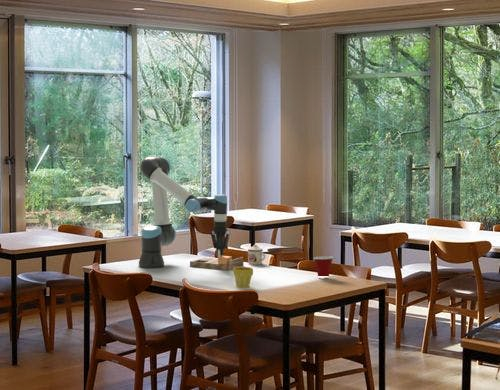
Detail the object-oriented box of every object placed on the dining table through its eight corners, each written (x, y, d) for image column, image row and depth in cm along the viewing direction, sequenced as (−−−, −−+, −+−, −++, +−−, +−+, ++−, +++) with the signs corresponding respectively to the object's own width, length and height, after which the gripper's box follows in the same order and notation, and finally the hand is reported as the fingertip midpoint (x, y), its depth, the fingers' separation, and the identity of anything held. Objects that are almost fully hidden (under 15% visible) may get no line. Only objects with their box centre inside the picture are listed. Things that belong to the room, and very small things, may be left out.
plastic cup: (319, 275, 518) (320, 254, 517) (336, 277, 512) (336, 256, 511) (309, 278, 509) (309, 256, 508) (326, 280, 503) (326, 258, 502)
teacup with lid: (244, 263, 558) (244, 244, 557) (253, 262, 565) (254, 243, 564) (260, 265, 550) (260, 246, 549) (269, 264, 557) (269, 245, 556)
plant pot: (255, 288, 478) (255, 269, 477) (236, 289, 475) (236, 270, 474) (249, 284, 488) (249, 266, 487) (230, 285, 485) (231, 267, 484)
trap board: (189, 266, 545) (189, 257, 545) (204, 262, 560) (204, 253, 560) (229, 270, 533) (229, 260, 533) (243, 266, 548) (243, 257, 548)
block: (218, 263, 537) (218, 257, 537) (223, 262, 543) (223, 255, 542) (227, 264, 535) (227, 257, 534) (231, 263, 540) (232, 256, 540)
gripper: (233, 221, 539) (232, 260, 541) (214, 219, 545) (213, 258, 547) (227, 222, 532) (226, 262, 534) (207, 220, 538) (207, 260, 540)
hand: (219, 260), depth 540 cm, fingers closed
